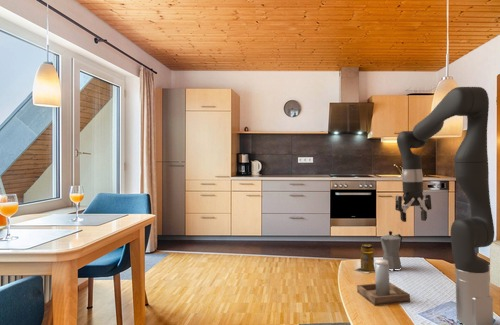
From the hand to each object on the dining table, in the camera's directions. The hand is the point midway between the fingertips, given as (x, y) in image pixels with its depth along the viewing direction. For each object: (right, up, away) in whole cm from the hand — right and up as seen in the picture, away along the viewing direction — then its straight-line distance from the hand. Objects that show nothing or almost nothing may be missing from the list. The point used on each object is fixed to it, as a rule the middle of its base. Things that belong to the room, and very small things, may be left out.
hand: (413, 221), depth 145 cm
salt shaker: (-15, -28, -6) cm, 32 cm away
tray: (-15, -28, -6) cm, 32 cm away
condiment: (-10, -29, +29) cm, 42 cm away
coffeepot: (+4, -28, +31) cm, 42 cm away
